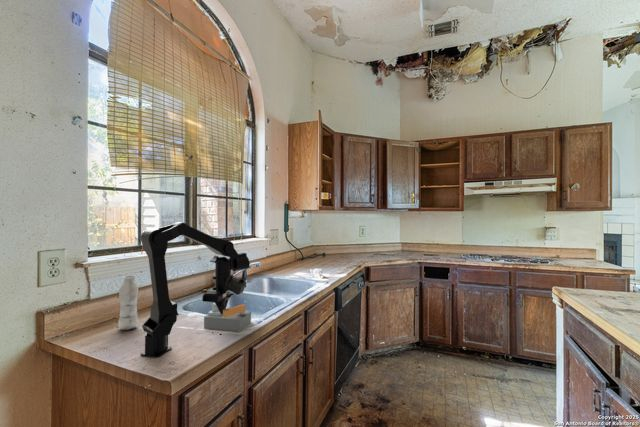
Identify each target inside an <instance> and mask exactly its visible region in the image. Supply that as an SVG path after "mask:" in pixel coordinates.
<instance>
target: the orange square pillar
mask: <svg viewBox="0 0 640 427" xmlns="http://www.w3.org/2000/svg"><path fill="white" fill-rule="evenodd" d="M227 308H228V309H224V310H223V317H225V318H226V317H229V316H232V315H235V314H238V313H240V315H244V314H245V311H246V304H239V305H234V306H232V307H227Z"/></svg>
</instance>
